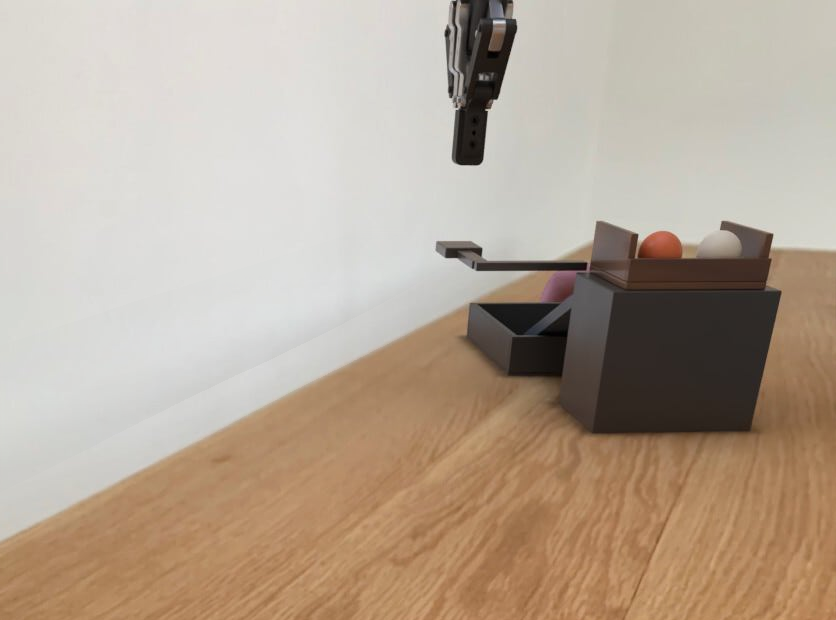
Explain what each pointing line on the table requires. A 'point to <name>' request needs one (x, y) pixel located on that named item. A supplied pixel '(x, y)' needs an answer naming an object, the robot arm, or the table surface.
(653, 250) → the ball terracotta
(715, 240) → the ball cream
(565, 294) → the video game controller
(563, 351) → the tray
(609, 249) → the tipping trough with lever
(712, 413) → the plinth
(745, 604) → the table surface
